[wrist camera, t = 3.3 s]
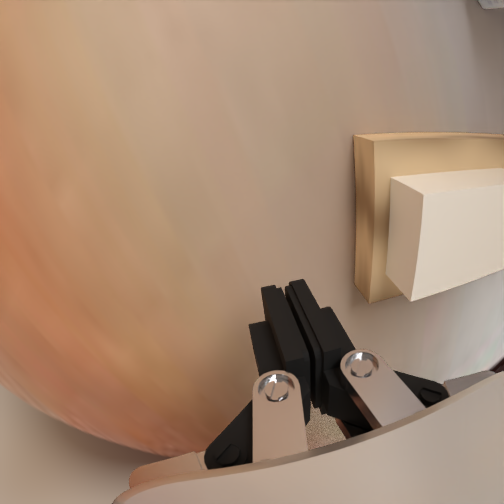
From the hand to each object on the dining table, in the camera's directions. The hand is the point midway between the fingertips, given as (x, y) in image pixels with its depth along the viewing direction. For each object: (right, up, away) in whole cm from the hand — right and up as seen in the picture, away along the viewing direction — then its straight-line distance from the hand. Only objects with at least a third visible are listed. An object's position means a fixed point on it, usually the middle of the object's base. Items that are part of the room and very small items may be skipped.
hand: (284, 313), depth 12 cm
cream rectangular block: (+11, +5, +5) cm, 13 cm away
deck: (+14, +6, +7) cm, 17 cm away
